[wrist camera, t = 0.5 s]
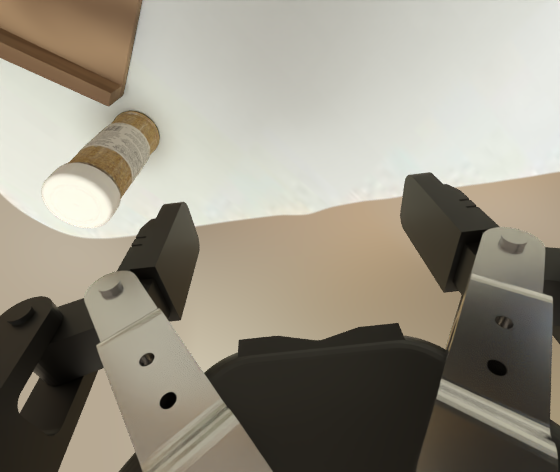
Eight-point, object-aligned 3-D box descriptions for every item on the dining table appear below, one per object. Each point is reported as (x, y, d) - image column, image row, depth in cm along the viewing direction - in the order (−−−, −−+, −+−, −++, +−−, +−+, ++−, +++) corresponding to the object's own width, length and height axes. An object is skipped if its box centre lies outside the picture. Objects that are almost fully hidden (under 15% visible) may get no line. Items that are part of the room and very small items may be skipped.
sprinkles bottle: (121, 152, 33) (54, 230, 23) (108, 108, 30) (25, 174, 20) (165, 153, 33) (119, 231, 23) (156, 110, 30) (98, 176, 20)
